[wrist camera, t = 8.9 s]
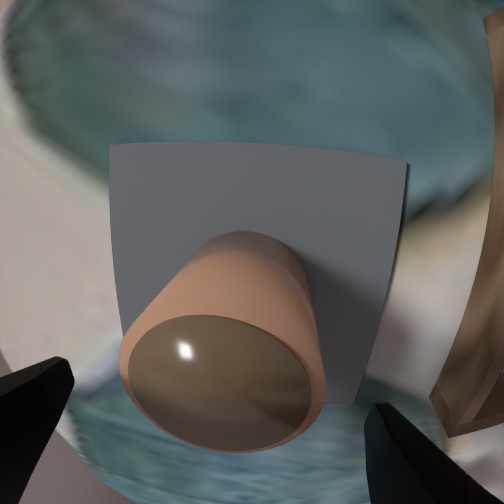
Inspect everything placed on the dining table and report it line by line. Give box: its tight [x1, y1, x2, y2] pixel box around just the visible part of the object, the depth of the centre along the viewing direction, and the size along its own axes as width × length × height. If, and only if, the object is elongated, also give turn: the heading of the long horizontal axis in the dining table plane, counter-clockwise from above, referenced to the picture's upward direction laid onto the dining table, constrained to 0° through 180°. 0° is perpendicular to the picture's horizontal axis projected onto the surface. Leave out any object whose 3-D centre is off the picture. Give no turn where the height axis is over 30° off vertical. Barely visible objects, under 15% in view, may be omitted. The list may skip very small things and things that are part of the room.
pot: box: [119, 231, 326, 453], centre depth 11 cm, size 6×6×7 cm
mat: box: [109, 141, 407, 403], centre depth 14 cm, size 14×14×1 cm
